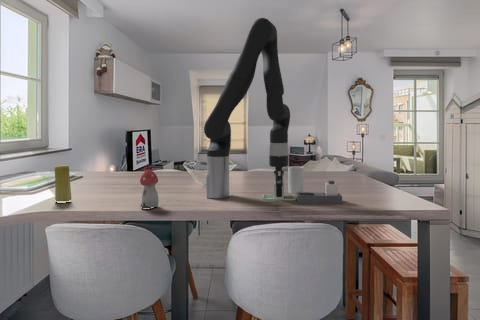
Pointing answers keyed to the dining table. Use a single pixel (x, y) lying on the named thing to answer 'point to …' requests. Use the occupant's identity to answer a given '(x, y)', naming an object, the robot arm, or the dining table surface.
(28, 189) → the dining table surface
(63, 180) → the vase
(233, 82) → the robot arm
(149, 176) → the decorative ornament
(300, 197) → the grey rectangular frame
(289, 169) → the mug
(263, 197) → the tray
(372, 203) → the dining table surface
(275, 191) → the plug
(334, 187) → the twin plug
